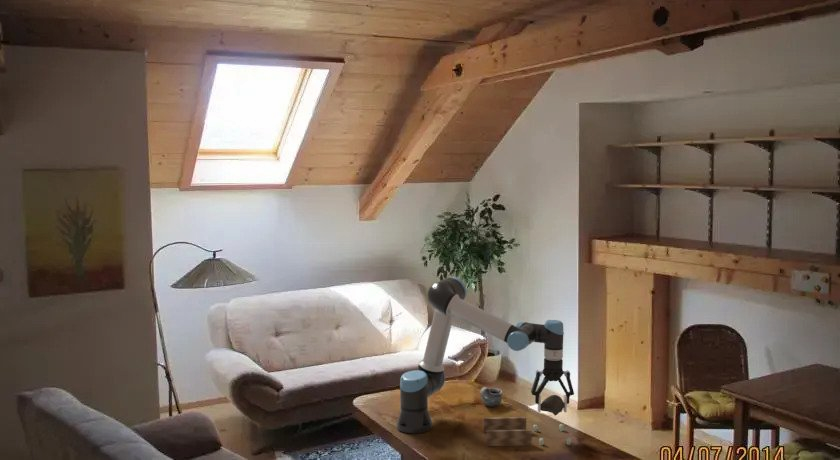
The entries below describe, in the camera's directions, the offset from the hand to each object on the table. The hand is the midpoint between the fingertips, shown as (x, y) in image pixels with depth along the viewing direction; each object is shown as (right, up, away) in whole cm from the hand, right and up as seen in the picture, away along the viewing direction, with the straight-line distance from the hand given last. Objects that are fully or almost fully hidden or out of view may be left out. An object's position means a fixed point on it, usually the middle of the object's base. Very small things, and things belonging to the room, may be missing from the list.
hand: (551, 411), depth 308 cm
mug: (-21, -8, +40) cm, 46 cm away
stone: (0, -1, 0) cm, 1 cm away
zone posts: (0, -11, +1) cm, 11 cm away
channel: (-18, -11, +1) cm, 22 cm away
